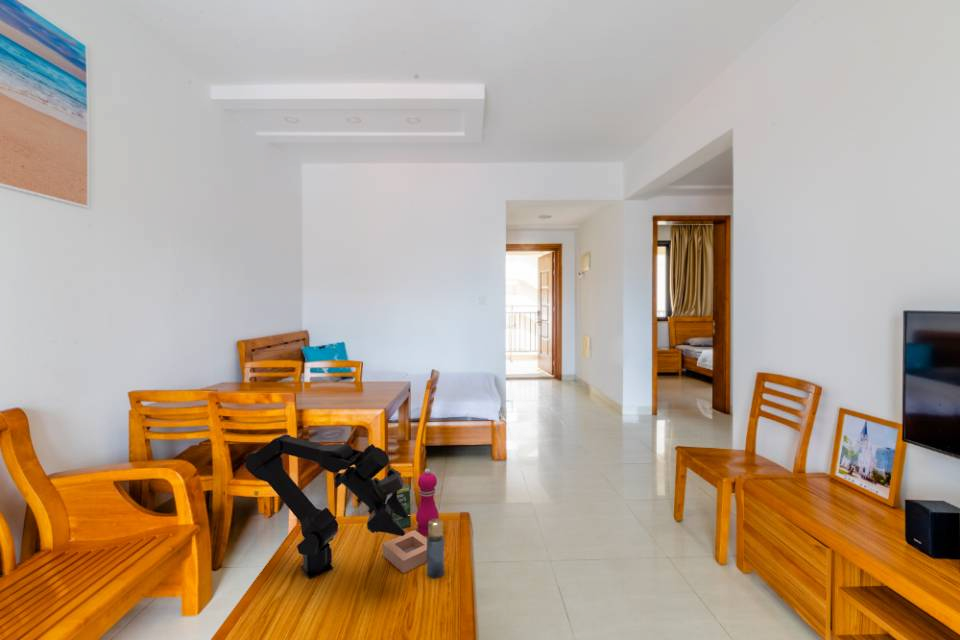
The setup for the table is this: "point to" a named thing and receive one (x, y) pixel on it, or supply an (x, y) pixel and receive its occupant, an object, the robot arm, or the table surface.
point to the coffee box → (404, 506)
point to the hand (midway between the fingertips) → (405, 525)
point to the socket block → (406, 551)
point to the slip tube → (435, 549)
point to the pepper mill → (426, 502)
